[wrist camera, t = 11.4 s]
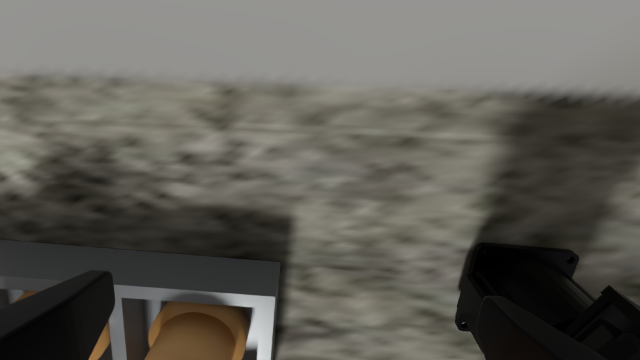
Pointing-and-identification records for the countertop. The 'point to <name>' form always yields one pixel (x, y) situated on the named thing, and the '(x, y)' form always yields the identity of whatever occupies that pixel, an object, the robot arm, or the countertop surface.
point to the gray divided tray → (161, 298)
